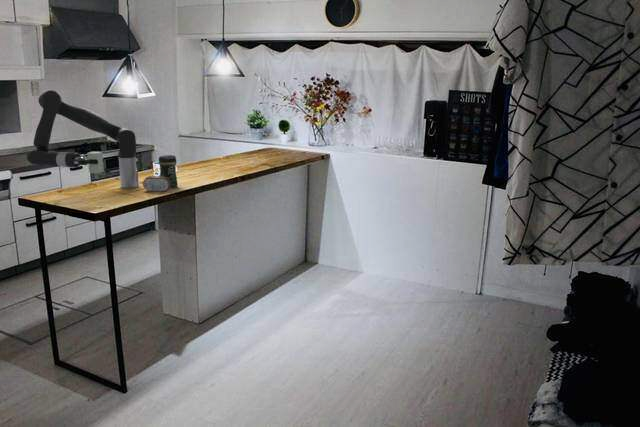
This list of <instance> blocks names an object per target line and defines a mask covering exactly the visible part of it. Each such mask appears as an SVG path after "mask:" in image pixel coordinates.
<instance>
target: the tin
mask: <svg viewBox="0 0 640 427" xmlns="http://www.w3.org/2000/svg"><path fill="white" fill-rule="evenodd" d="M142 186H143V188H144V189H145V190H146V191H147V192H155V193H157V192H161V193H163V192H164V193H165V192H167V191H169V190H170V189H171V188H170V187H171V182H170V180H169V179H168V178H167V177H161V176H160V175H159V176H158V175H157V176H154V175H151V176H150V175H149V176H147V177H146V178H144V180H143V182H142Z"/></svg>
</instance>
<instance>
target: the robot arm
mask: <svg viewBox="0 0 640 427" xmlns="http://www.w3.org/2000/svg"><path fill="white" fill-rule="evenodd" d="M37 100H38V101H37V102H38V103H39V106H40V107H41V108H42V113H41V117H40V119H39V122H38V124H37V127H36V129H35V134H34V138H33V146H34V147H35V148H36V150H32V151H29V152H28V153H27V155H26V160H27V162H28V163H29V164H31V165H33V166H36V167H39V168H44V167H46V166H50V167H62V168H72V169H73V168H79V167H80V166H87V165H88V164H89V165H90V164H98V160H94V159H88V155H82V156H81V155H80V154H79V152H67V151H63V152H50V149H49V147H50V142H51V137H52V132H53V126H54V124H55V119H56V117H57V115H59V116H62V117H63V118H66V119H67V120H70V121H72V122H74V123H75V124H78V125H80V126H83V127H85V128H86V129H89V130H91V131H93V132H97V133H99V134H103V135H105V136H106V137H109V138H111V139H112V140H113V141H116V142H118V145H119V146H118V148H119V150H118V153H117V155H118V166H119V177H120V178H119V179H120V188H123V189H130V188H137V187H139V186H140V185H139V184H140V183H139V182H140V181H139V171H138V169H137V160H136V159H137V158H136V153H137V140H136V134H135V132H134V131H133V130H130V129H129V128H125V127H122V126H119V125H116V124H114V123H112V122H110V121H108V120H107V119H106V118H104V117H103V116H101V115H100V114H97V113H96V112H94V111H92V110H90V109H87V108H84V107H80V106H77V105H72V104H70V103H67V102H65V101H63V99H62V95H60V93H59V92H57V91H56V90H53V89H52V90H51V89H50V90H46V91H45V92H43V93H42V94H40V95H39V97H38V99H37ZM102 158H103V163H104V162H105V161H104V160H105V159H104V157H102ZM89 165H88V166H89Z"/></svg>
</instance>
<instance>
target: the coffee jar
mask: <svg viewBox="0 0 640 427" xmlns="http://www.w3.org/2000/svg"><path fill="white" fill-rule="evenodd" d="M158 165H159V168H160V169H159V170H160V171H159V172H160V173H159V174H160V175H159V176H161V177H167V178H168V179H169V180H170V182H171V187H170V189H174V188H177V187H178V179H177V171H176V170H177V169H176V166H177V157H176V155H173V154H166V155H160V156H159V157H158Z"/></svg>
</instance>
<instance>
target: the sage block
mask: <svg viewBox="0 0 640 427" xmlns="http://www.w3.org/2000/svg"><path fill="white" fill-rule="evenodd" d="M86 154H87V155H86V156H88V159H94V160H98V164H90V165H89V164H87V165H88V171H89V172H88V173H89V174H101V173H104V162H103V158H104V157H103V152H102V151H90V152H87V153H86Z"/></svg>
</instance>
